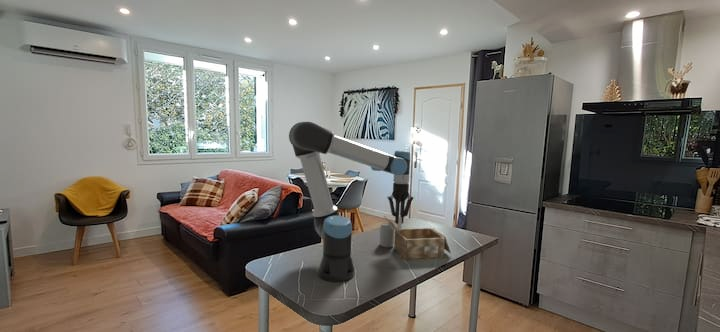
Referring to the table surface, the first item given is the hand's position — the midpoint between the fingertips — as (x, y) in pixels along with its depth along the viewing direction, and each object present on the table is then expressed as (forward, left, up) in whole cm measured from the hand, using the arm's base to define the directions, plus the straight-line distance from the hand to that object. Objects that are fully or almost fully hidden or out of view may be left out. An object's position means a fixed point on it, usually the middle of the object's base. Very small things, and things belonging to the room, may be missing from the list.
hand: (398, 229), depth 157 cm
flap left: (-3, 0, +2) cm, 3 cm away
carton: (+11, 0, -12) cm, 16 cm away
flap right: (+23, 0, -6) cm, 24 cm away
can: (-2, +12, -13) cm, 17 cm away
